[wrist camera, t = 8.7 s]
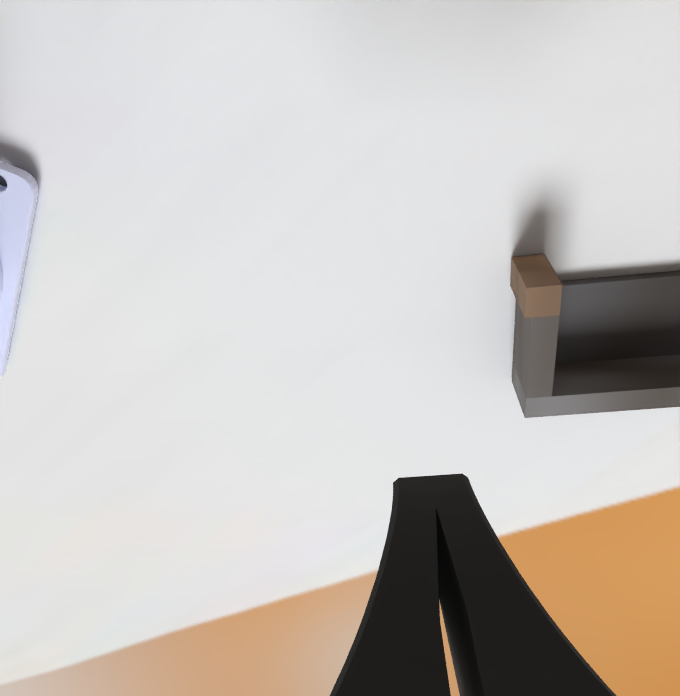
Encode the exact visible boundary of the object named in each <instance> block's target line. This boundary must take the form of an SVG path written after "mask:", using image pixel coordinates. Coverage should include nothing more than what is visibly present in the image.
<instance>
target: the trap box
mask: <svg viewBox="0 0 680 696" xmlns="http://www.w3.org/2000/svg"><path fill="white" fill-rule="evenodd" d="M510 286H511V288H512V290H513V293H514V295H515V297H516V310H515V330H514V349H513V369H512V383H513V386H514V388H515V391H516V394H517V397H518V400H519V403H520V406H521V408H522V411H523V414H524V417H525V418H529V417H543V416H557V415H571V414H585V413H598V412H612V411H626V410H640V409H654V408H667V407H680V271H673V272H662V273H650V274H639V275H627V276H616V277H604V278H593V279H581V280H570V281H560V280H559V278H558V276H557V274H556V273H555V271H554V269H553V268H552V266H551V264H550V262H549V261H548V259H547V257H546V256H545V254H541V255H530V256H518V257H512V262H511V284H510Z"/></svg>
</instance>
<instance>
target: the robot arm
mask: <svg viewBox="0 0 680 696" xmlns="http://www.w3.org/2000/svg"><path fill="white" fill-rule="evenodd" d="M0 175H1V176H2V177H4V179H5V180H6V182H7V187H4V186H1V185H0V379H1V377H2V376H3V375H4V373H5V370H6V365H7V360H8V354H9V349H10V343H11V338H12V333H13V327H14V322H15V316H16V311H17V306H18V300H19V295H20V290H21V284H22V279H23V273H24V268H25V263H26V257H27V252H28V246H29V241H30V236H31V230H32V225H33V219H34V214H35V209H36V203H37V198H38V184H37V182H36V180H35V179H34V177H33V176H32V175H31V174H30V173H28V172H26V171H24V170H22V169H20V168H17V167H15V166H12V165H10V164H7V163H5V162H2V161H0ZM439 599H440V604H441V609H442V613H443V618H444V623H445V628H446V632H447V637H448V642H449V646H450V651H451V655H452V660H453V665H454V670H455V674H456V679H457V684H458V688H459V693H460V696H616V695H615V694H614V693H613V692H612V690H611V689H610V688H608V686H607V685H606V684H605V683H604V682H603V681H602V679H601V678H600V677H599V676H598V675H597V674H596V672H595V671H594V670H593V669H592V668H591V667H590V665H589V664H588V663H587V662H586V661H585V660H584V658H583V657H582V656H581V655H580V654H579V652H578V651H577V650H576V649H575V648H574V646H573V645H572V644H571V643H570V641H569V640H568V639H567V638H566V636H565V635H564V634H563V633H562V631H561V630H560V629H559V628H558V626H557V625H556V624H555V622H554V621H553V620H552V618H551V617H550V616H549V614H548V613H547V612H546V610H545V609H544V607H543V606H542V605H541V603H540V602H539V600H538V599H537V598H536V596H535V595H534V594H533V592H532V591H531V589H530V588H529V586H528V585H527V583H526V582H525V580H524V579H523V578H522V576H521V574H520V573H519V572H518V570H517V568H516V567H515V565H514V563H513V562H512V560H511V559H510V558H509V556H508V554H507V552H506V551H505V549H504V548H503V546H502V544H501V543H500V541H499V539H498V538H497V536H496V534H495V532H494V531H493V529H492V527H491V525H490V523H489V522H488V520H487V518H486V516H485V514H484V512H483V510H482V508H481V506H480V504H479V502H478V500H477V498H476V496H475V494H474V492H473V489H472V487H471V484H470V482H469V479H468V477H466V476H465V475H463V474H451V475H436V476H421V477H406V478H398V479H397V480H396V481H395V482H393V503H392V512H391V518H390V523H389V528H388V534H387V538H386V542H385V546H384V550H383V554H382V558H381V562H380V566H379V570H378V573H377V577H376V580H375V583H374V586H373V589H372V592H371V595H370V598H369V601H368V604H367V607H366V610H365V613H364V616H363V619H362V622H361V624H360V627H359V629H358V632H357V635H356V637H355V640H354V642H353V645H352V647H351V649H350V652H349V654H348V657H347V659H346V662H345V664H344V666H343V668H342V670H341V673H340V675H339V677H338V679H337V681H336V684H335V685H334V688H333V690H332V692H331V695H330V696H451V695H450V688H449V681H448V674H447V668H446V661H445V654H444V646H443V639H442V632H441V625H440V614H439V613H440V611H439Z"/></svg>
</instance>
